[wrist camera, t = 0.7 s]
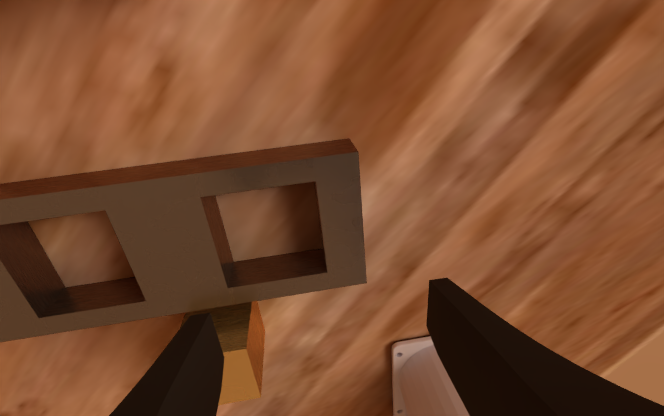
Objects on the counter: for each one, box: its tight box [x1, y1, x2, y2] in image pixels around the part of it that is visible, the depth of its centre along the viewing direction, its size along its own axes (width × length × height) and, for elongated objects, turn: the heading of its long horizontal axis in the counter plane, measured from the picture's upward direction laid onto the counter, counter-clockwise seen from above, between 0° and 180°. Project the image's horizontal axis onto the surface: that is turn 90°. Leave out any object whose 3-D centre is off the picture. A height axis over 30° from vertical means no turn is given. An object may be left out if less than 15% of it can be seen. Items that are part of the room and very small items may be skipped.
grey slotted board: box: [0, 139, 367, 342], centre depth 18 cm, size 22×8×2 cm, turn 95°
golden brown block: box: [180, 301, 265, 405], centre depth 21 cm, size 4×4×5 cm
